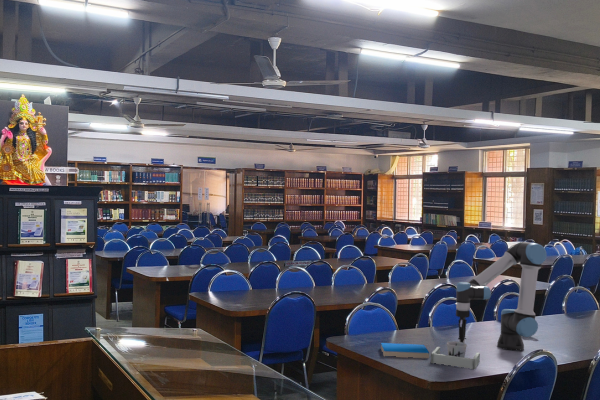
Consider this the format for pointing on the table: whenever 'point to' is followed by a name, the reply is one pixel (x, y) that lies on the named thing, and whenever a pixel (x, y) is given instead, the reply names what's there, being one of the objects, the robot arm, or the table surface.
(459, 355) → the mug
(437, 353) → the cradle
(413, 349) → the book
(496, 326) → the table surface
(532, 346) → the table surface
